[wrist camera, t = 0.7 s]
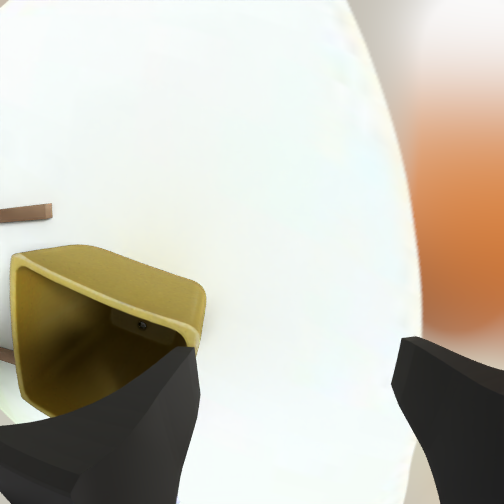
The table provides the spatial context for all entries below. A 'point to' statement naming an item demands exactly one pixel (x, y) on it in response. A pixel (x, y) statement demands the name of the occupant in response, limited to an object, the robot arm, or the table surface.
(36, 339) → the flower pot
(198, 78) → the table surface
